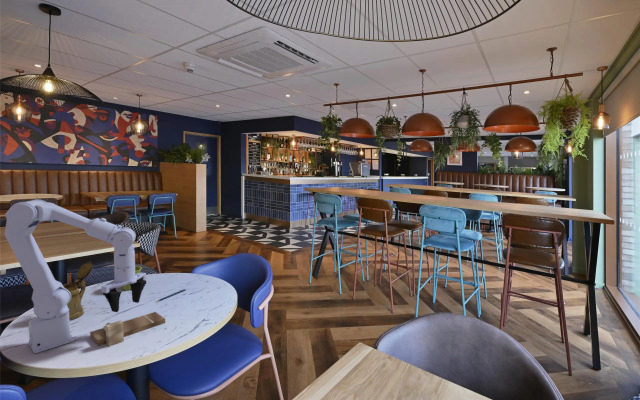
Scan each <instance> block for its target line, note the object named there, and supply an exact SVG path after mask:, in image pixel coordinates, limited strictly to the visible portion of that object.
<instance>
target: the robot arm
mask: <svg viewBox="0 0 640 400" xmlns="http://www.w3.org/2000/svg"><path fill="white" fill-rule="evenodd" d="M4 216H5V218H6V222H5V230H4V236H5V238H6V241H7V243H8V244H9V246H10V248H11V250H12V252H13V254H14V256H15V257H16V260H17V261H18V263H19V265H20V266H21V267H20V268H21V269H22V271H23V273H24V274H25V276H26V278H27V280H28V282H29V283H30V286H31V287H32V289H33V291H32V295H31V301H32V303H33V314H34V315H35V316H36V317H35V318H32V319H30V320H28V335H29V336H28V337H29V339H28V343H29V347H30V348H31V350H32V353H33V354H37V353H41V352H44V351H47V350H50V349H53V348H56V347H60V346H63V345H66V344H69V343H73V342H75V338H74V336H72V334H71V328H70V327H71V326H70V324H71V323H70V321H71V320H69V308H68V307H67V304H68V303H69V302H70V300H71V293H70V292H69V291H68V290H67V289H65V288H64V287H63V285H64V284H62V282H60V281H58V280H56V279H55V277H54V275H53V273H52V271H51V269H50V267H49V265H48V263H47V261H46V259H45V257H44V256H43V254H42V251H41V249H40V248H39V245H38V244H37V242H36V240H35V238H34V236H33V233H34V231H35V230H36V228H37V226H38V225H39V224H40V223H42V222H47V221H56V222H60V223H64V224H65V225H69V226H73V227H76V228H79V229H82V230H84V231H85V234H87V236H90V237H92V238H95V239H98V240H100V241H103V242H106V243H110V245H111V246H112V247H113V265H114V269H113V271H114V279H113V280H112V281H110V282H108V283H106V284H104V285H102V286H101V294H102V296H104V297H105V298H106V300H107V302H108V305H109V306H110V310H111V312H113V313H118V312H119V310H120V298H121V294H122V291H118V289H119V288H122V286H125V285H127V284H130V286H131V300H132V302H133V303H137V304H138V303H140V300H141V296H142V292H143V290H144V288H145V286H146V285H147V280H146V279H147V273H146V272H141V271H140V273H138V274H135V266H136V254H135V253H136V252H135V251H136V250H135V243H134V241H136V236H137V235H136V232H135V231H134V229H132V228H130V227H129V226H127V227H123V226H122V225H120V224H119V225H116V224H114V223H112V222H109V221H107V219H106V218H104V217H101V218H98V217H97V218H93V219H90V218H87V217H85V216H82V215H80V214H78V213H76V212H73V211H71V210H68V209H66V208H64V207H62V206H59V205H57V204H56V203H54V202H53V203H52V202H49V201H48V202H47V201H45V200H43V199H40V198H39V199H38V198H36V199H32V200H28V201H19V202H16V203H14V204H13V205H11V207H10V208H9V209H8V210H7V211H6V213H5V214H4Z"/></svg>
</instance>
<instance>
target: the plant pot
mask: <svg viewBox="0 0 640 400" xmlns="http://www.w3.org/2000/svg"><path fill="white" fill-rule="evenodd" d="M142 269H143V268H142V266H140V265H139V266H138V265H135V274H138V273H141V270H142ZM121 289H122V290H123V291H130V290H131V286H130V284H127V285H125V286H122V287H121Z"/></svg>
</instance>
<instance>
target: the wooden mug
mask: <svg viewBox="0 0 640 400" xmlns="http://www.w3.org/2000/svg"><path fill="white" fill-rule="evenodd" d="M92 271H93V263H92V261H91V260H90V261H87V262H85V263H84V264H83V265H81V266H80V267H79V268H78V270H77V272H76V280H75V281H73V283H65V284H62V285H63V287H64V288H65V289H67V290H68V291H69V292H70V293H71V300H70V302H69V303H68V304H67V307H68V308H69V321H72V320H75V319H78V318H80V317H81V316H83V315H84V313H85V310H84V307H83V306H82V299H83V296H84V294H85V292H86V287H87V284H86V281H85V280H84V279H86V278H87V277H89V275H90V274H91V273H92ZM78 287H79V288H80V289H79V288H78Z"/></svg>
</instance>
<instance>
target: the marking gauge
mask: <svg viewBox="0 0 640 400" xmlns="http://www.w3.org/2000/svg"><path fill="white" fill-rule="evenodd" d="M123 322H124V321H121V320H118V321H115V322H111V323H110V322H107V323H105V325H104V326H103V327H102V328H103V330H104V331H105V332H106V343H105V344H106V345H107V347H111V346H114V345H117V344H120V343H122V342H123V343H124V341H125V339H124V338H125V337H124V333H123Z"/></svg>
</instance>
